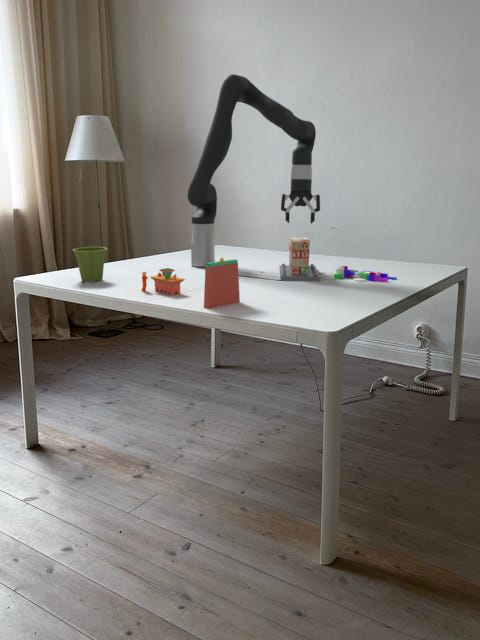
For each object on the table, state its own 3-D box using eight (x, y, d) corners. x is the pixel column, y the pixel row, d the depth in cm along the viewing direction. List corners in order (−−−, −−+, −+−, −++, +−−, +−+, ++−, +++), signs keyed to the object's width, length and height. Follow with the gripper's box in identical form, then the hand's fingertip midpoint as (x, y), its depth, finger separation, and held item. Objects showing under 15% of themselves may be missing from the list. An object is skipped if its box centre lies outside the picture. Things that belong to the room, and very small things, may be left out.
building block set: (404, 277, 234) (404, 265, 232) (380, 285, 218) (381, 273, 217) (343, 271, 248) (344, 260, 247) (317, 278, 232) (317, 266, 231)
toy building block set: (208, 309, 179) (207, 259, 176) (136, 292, 204) (135, 248, 200) (239, 303, 188) (239, 255, 184) (167, 287, 212) (166, 245, 209)
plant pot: (80, 277, 230) (78, 246, 227) (112, 277, 229) (111, 246, 226) (69, 283, 218) (67, 250, 215) (103, 283, 217) (102, 251, 215)
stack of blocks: (288, 266, 247) (289, 234, 244) (304, 266, 247) (305, 234, 244) (291, 275, 227) (292, 240, 224) (308, 275, 226) (309, 240, 224)
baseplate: (280, 280, 224) (280, 273, 224) (279, 269, 250) (279, 263, 249) (320, 280, 224) (320, 274, 223) (314, 269, 249) (315, 263, 248)
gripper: (281, 177, 225) (280, 223, 229) (321, 178, 224) (320, 224, 228) (281, 177, 232) (280, 221, 236) (320, 177, 232) (318, 222, 235)
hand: (299, 222), depth 232 cm, fingers open, 8 cm apart
